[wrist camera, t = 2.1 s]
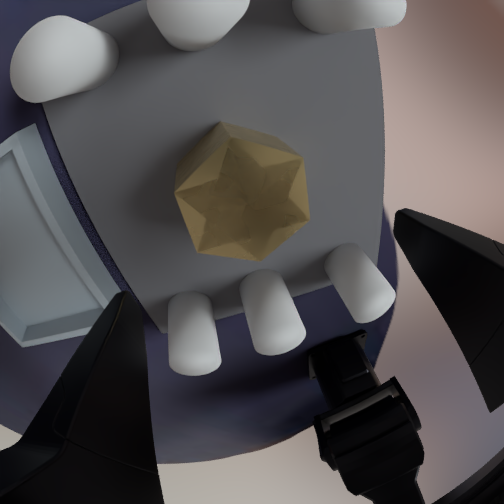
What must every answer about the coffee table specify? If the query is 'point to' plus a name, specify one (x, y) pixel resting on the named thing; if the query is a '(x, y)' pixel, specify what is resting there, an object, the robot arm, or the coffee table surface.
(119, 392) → the robot arm
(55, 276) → the nut tray
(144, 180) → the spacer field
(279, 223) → the tan faceted polyhedron
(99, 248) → the coffee table surface
